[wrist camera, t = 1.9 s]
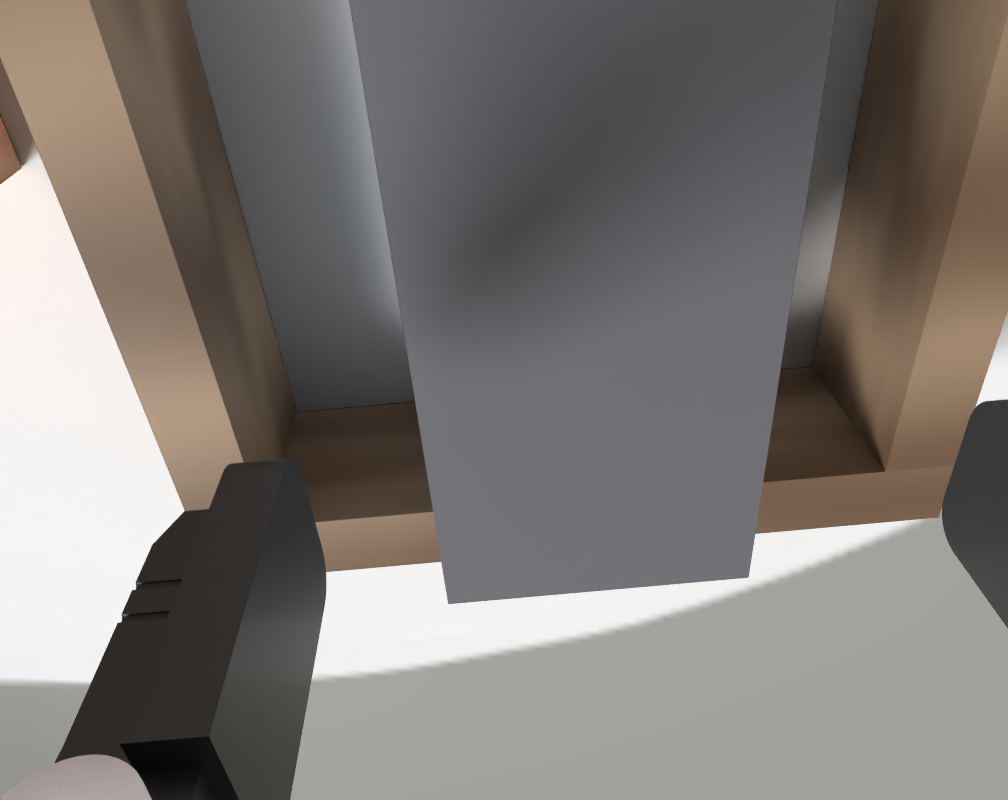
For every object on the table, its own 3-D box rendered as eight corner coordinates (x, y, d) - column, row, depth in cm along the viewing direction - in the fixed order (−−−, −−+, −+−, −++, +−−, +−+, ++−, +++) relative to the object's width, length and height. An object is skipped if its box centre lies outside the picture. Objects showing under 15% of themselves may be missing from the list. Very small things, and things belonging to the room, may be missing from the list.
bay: (57, -135, 14) (-76, -129, 11) (1005, -216, 14) (1189, -237, 11) (252, 463, 22) (214, 581, 19) (860, 409, 22) (938, 517, 19)
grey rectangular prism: (393, -68, 15) (349, -3, 9) (677, -92, 15) (845, -46, 9) (449, 368, 21) (448, 603, 15) (656, 349, 21) (748, 577, 15)
